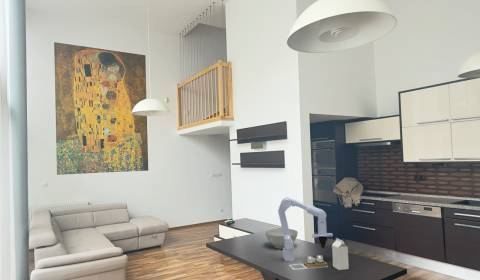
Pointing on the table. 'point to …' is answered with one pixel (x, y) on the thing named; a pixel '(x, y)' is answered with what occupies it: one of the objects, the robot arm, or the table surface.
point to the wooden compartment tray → (315, 265)
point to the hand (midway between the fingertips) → (323, 247)
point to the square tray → (297, 269)
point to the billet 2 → (319, 259)
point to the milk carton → (340, 255)
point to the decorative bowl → (279, 237)
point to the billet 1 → (310, 260)
